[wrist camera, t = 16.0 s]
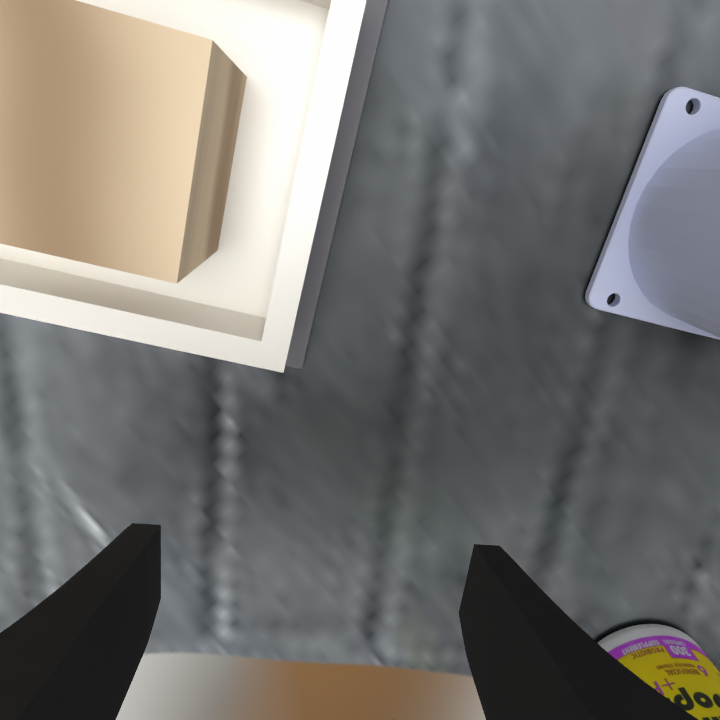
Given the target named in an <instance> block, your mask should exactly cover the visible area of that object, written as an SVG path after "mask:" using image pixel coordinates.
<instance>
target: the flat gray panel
mask: <svg viewBox="0 0 720 720" xmlns="http://www.w3.org/2000/svg"><path fill="white" fill-rule="evenodd" d="M387 3H388V0H366V5H365V9H364V14H363V18H362V23H361V27H360V32H359V36H358V40H357V45H356V49H355V54H354V58H353V63H352V67H351V72H350V76H349V81H348V85H347V90H346V94H345V99H344V103H343V108H342V112H341V117H340V121H339V126H338V130H337V135H336V139H335V144H334V148H333V153H332V157H331V162H330V166H329V171H328V175H327V180H326V184H325V189H324V193H323V198H322V202H321V207H320V211H319V216H318V220H317V225H316V229H315V234H314V238H313V243H312V247H311V252H310V256H309V261H308V265H307V270H306V274H305V279H304V283H303V287H302V292H301V296H300V301H299V305H298V310H297V314H296V319H295V323H294V328H293V332H292V337H291V341H290V346H289V350H288V355H287V359H286V364H285V366H288V367H293V368H298V369H302V366H303V362H304V358H305V354H306V349H307V345H308V341H309V336H310V332H311V328H312V324H313V319H314V315H315V311H316V306H317V302H318V298H319V294H320V289H321V285H322V281H323V277H324V272H325V268H326V264H327V259H328V255H329V251H330V247H331V242H332V238H333V234H334V229H335V225H336V221H337V217H338V212H339V208H340V204H341V199H342V195H343V191H344V187H345V182H346V178H347V174H348V170H349V165H350V161H351V157H352V152H353V148H354V144H355V140H356V135H357V131H358V127H359V122H360V118H361V114H362V110H363V105H364V101H365V97H366V92H367V88H368V84H369V80H370V75H371V71H372V67H373V63H374V58H375V54H376V50H377V45H378V41H379V37H380V33H381V28H382V24H383V20H384V15H385V11H386V7H387Z"/></svg>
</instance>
